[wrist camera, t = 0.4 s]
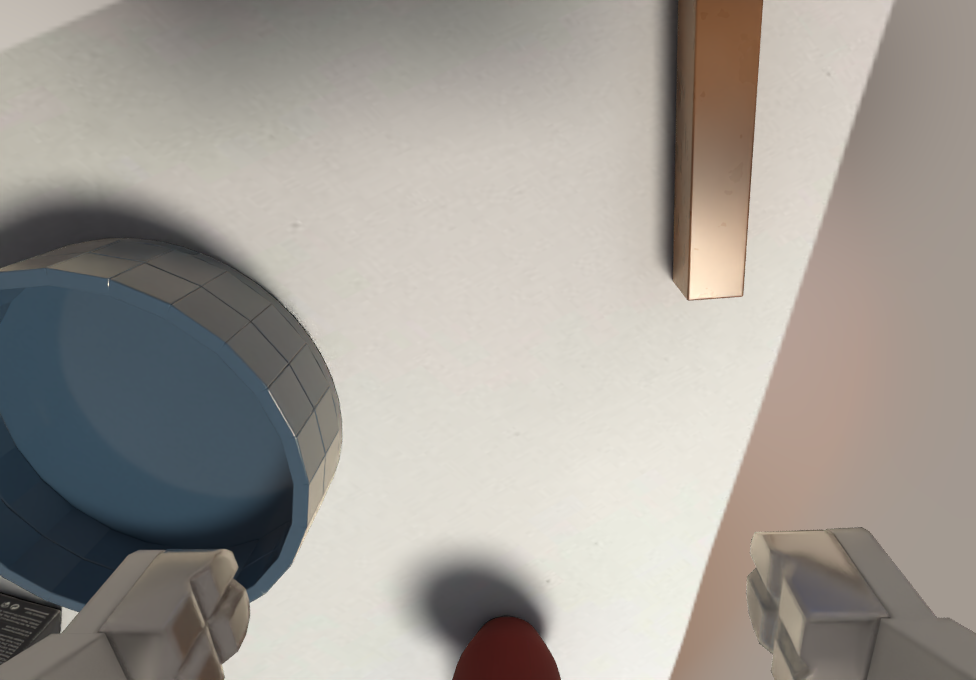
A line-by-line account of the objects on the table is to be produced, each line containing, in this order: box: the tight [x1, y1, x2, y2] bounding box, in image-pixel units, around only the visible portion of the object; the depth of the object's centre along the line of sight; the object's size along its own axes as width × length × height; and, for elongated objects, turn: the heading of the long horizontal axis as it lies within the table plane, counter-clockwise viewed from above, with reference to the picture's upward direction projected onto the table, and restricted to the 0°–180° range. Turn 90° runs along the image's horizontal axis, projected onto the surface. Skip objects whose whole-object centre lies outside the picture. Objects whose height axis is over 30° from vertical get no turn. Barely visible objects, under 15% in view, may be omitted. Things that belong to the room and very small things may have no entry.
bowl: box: [0, 238, 342, 612], centre depth 32 cm, size 21×21×6 cm
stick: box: [673, 0, 763, 301], centre depth 26 cm, size 13×2×3 cm, turn 6°
